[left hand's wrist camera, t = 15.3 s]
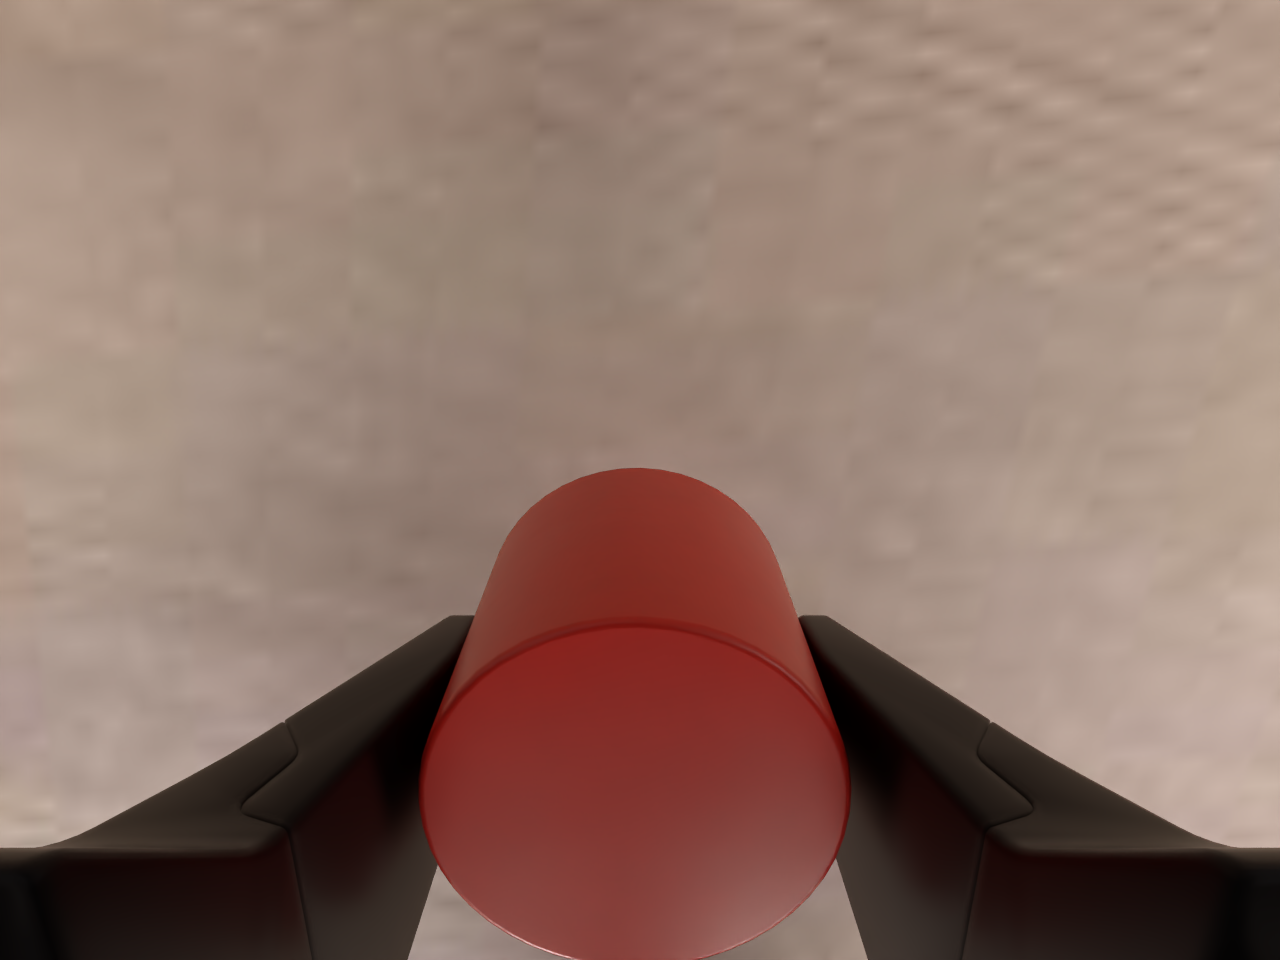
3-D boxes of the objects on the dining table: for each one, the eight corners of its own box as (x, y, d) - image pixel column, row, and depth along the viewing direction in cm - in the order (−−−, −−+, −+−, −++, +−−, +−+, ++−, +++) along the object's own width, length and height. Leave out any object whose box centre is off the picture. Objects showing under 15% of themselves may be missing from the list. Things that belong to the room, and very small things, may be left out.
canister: (804, 694, 13) (880, 933, 9) (536, 747, 13) (490, 1000, 9) (752, 435, 11) (815, 575, 7) (453, 503, 12) (352, 673, 8)
